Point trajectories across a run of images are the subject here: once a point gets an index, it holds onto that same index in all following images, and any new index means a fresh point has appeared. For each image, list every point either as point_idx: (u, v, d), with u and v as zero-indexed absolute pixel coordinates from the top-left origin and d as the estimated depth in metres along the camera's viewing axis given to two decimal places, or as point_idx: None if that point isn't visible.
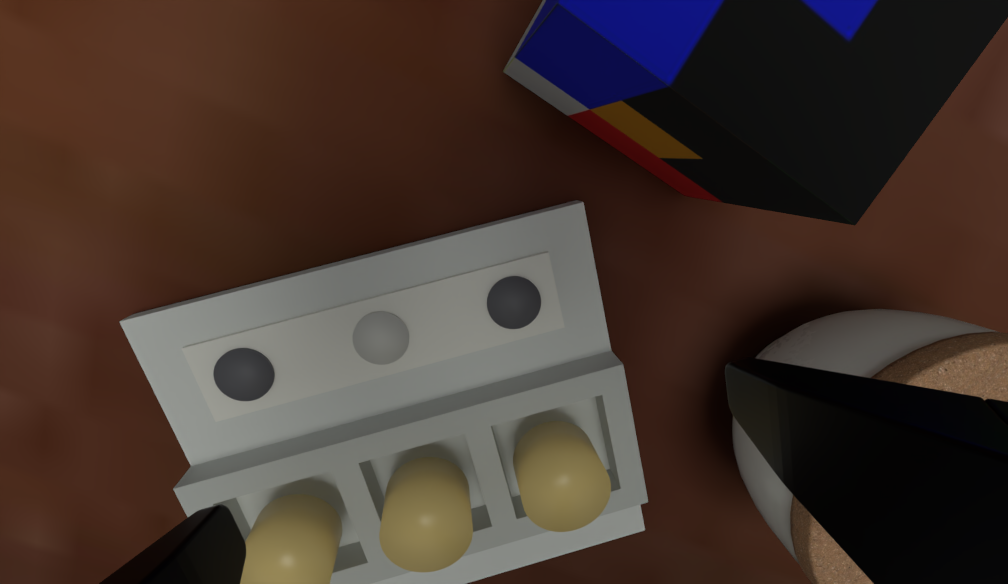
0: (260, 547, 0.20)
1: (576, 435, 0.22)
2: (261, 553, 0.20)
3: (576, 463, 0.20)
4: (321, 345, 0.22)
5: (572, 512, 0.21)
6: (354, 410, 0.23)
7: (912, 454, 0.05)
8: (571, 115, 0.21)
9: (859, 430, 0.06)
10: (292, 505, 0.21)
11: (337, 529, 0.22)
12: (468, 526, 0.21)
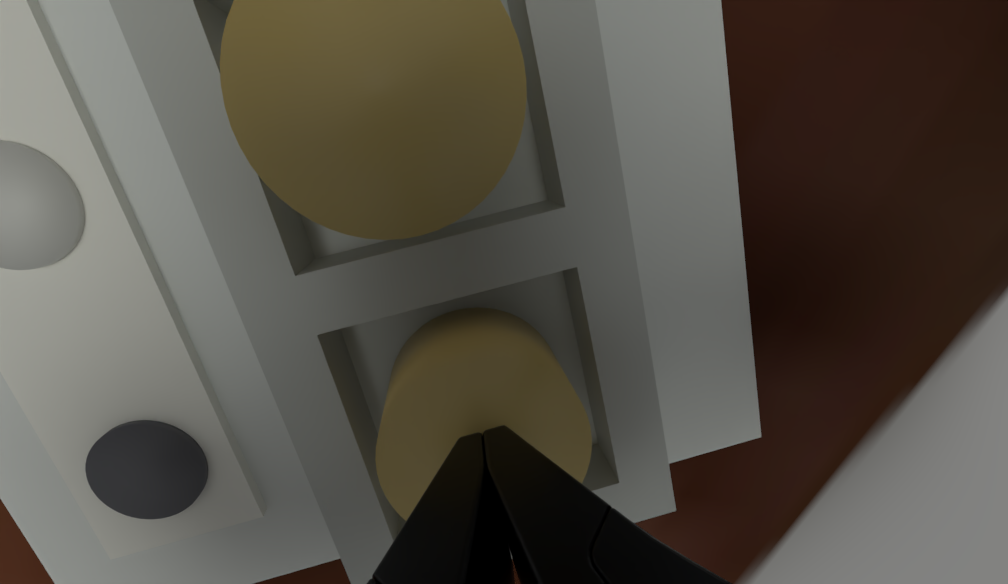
0: (403, 492, 0.09)
1: None
2: (418, 491, 0.09)
3: None
4: (60, 332, 0.10)
5: None
6: None
7: (525, 569, 0.05)
8: None
9: (511, 532, 0.06)
10: None
11: (455, 320, 0.10)
12: None
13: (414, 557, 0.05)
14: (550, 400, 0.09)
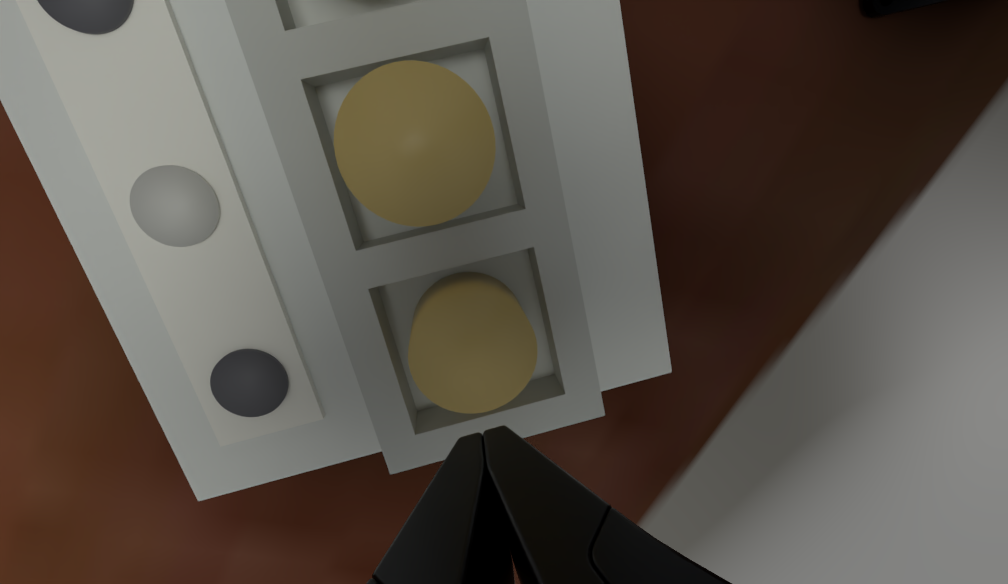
0: (423, 377, 0.15)
1: None
2: (432, 377, 0.15)
3: None
4: (199, 288, 0.16)
5: None
6: (309, 251, 0.16)
7: (525, 569, 0.05)
8: None
9: (511, 531, 0.06)
10: None
11: (455, 278, 0.16)
12: (404, 68, 0.11)
13: (414, 557, 0.05)
14: (511, 322, 0.14)
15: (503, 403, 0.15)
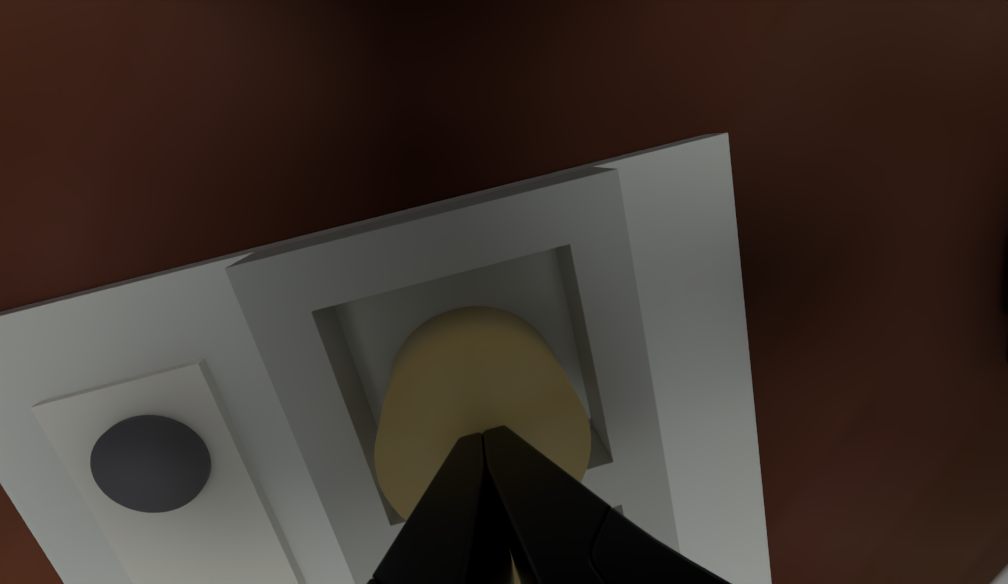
0: None
1: (390, 379, 0.10)
2: None
3: (402, 441, 0.08)
4: None
5: (539, 436, 0.09)
6: None
7: (525, 569, 0.05)
8: None
9: (511, 531, 0.06)
10: None
11: None
12: None
13: (414, 557, 0.05)
14: None
15: None
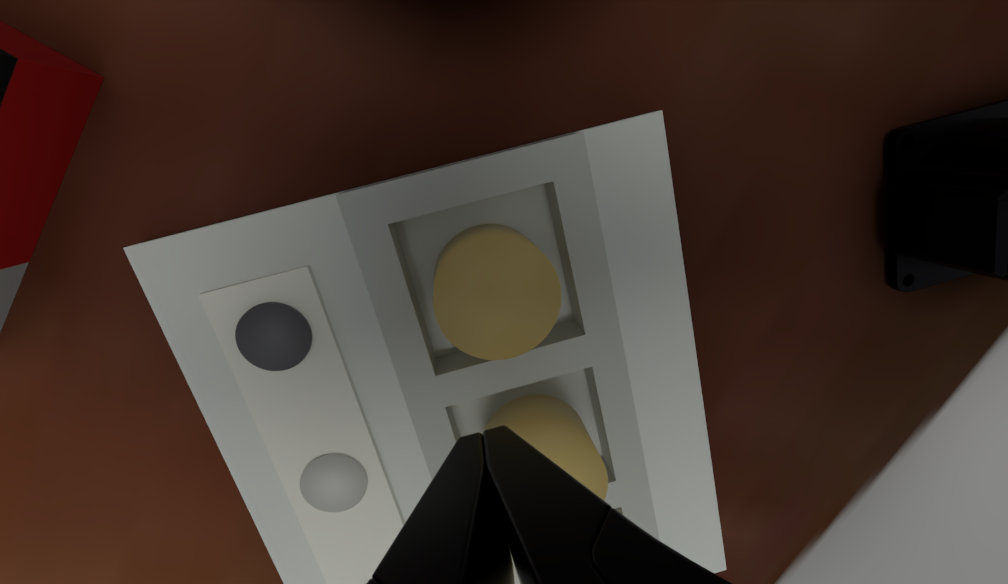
0: None
1: (438, 265, 0.16)
2: None
3: (449, 290, 0.14)
4: (347, 537, 0.19)
5: (530, 289, 0.15)
6: None
7: (525, 568, 0.05)
8: (16, 264, 0.16)
9: (511, 531, 0.06)
10: None
11: None
12: (542, 440, 0.15)
13: (414, 557, 0.05)
14: None
15: None
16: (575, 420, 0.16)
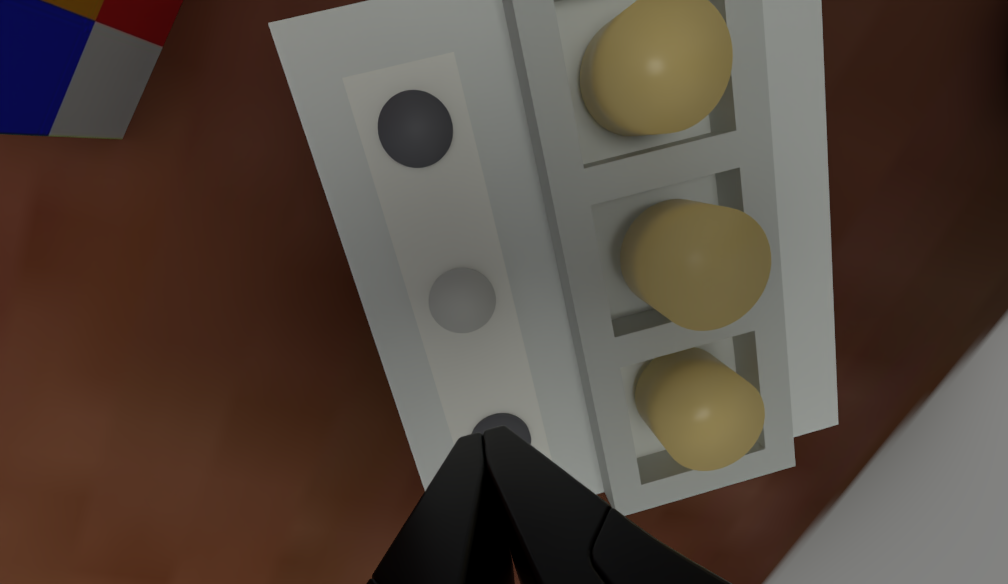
0: (673, 442, 0.18)
1: (595, 43, 0.15)
2: (680, 442, 0.18)
3: (622, 48, 0.14)
4: (470, 365, 0.19)
5: (702, 53, 0.14)
6: (556, 331, 0.19)
7: (525, 569, 0.05)
8: (154, 42, 0.15)
9: (511, 532, 0.06)
10: (642, 399, 0.19)
11: (682, 355, 0.19)
12: (711, 213, 0.14)
13: (414, 557, 0.05)
14: (747, 397, 0.17)
15: (732, 462, 0.18)
16: None
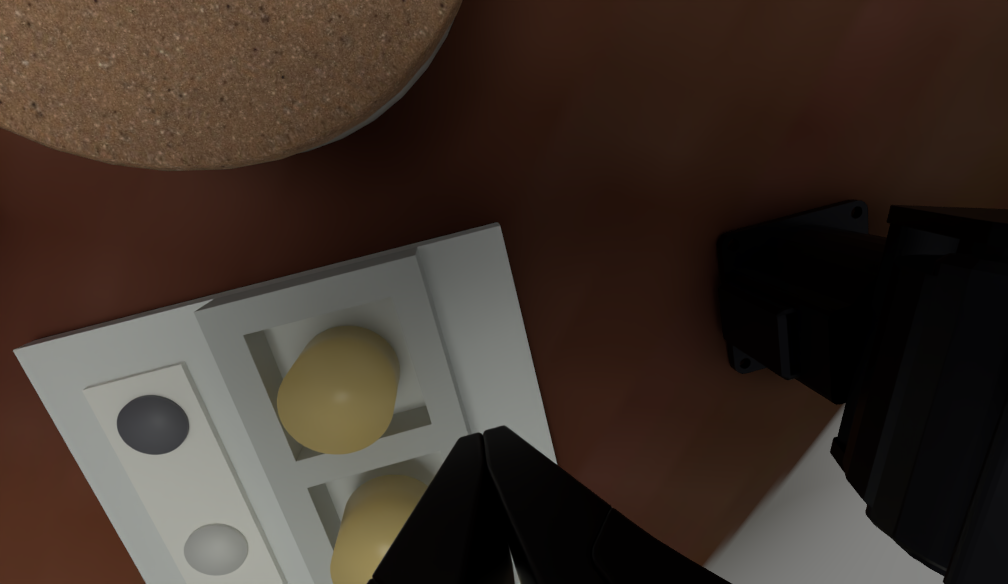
0: None
1: None
2: None
3: (291, 397, 0.16)
4: None
5: (365, 395, 0.17)
6: None
7: (525, 569, 0.05)
8: None
9: (510, 531, 0.06)
10: None
11: None
12: (377, 526, 0.17)
13: (414, 557, 0.05)
14: None
15: None
16: None
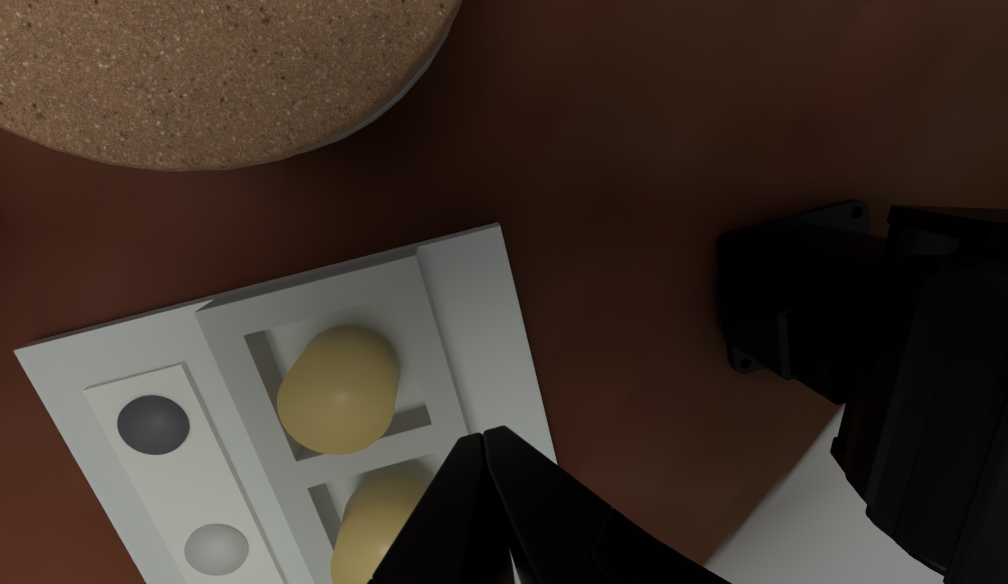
0: None
1: None
2: None
3: (291, 397, 0.16)
4: None
5: (365, 396, 0.17)
6: None
7: (525, 569, 0.05)
8: None
9: (511, 531, 0.06)
10: None
11: None
12: (377, 527, 0.17)
13: (414, 557, 0.05)
14: None
15: None
16: None
